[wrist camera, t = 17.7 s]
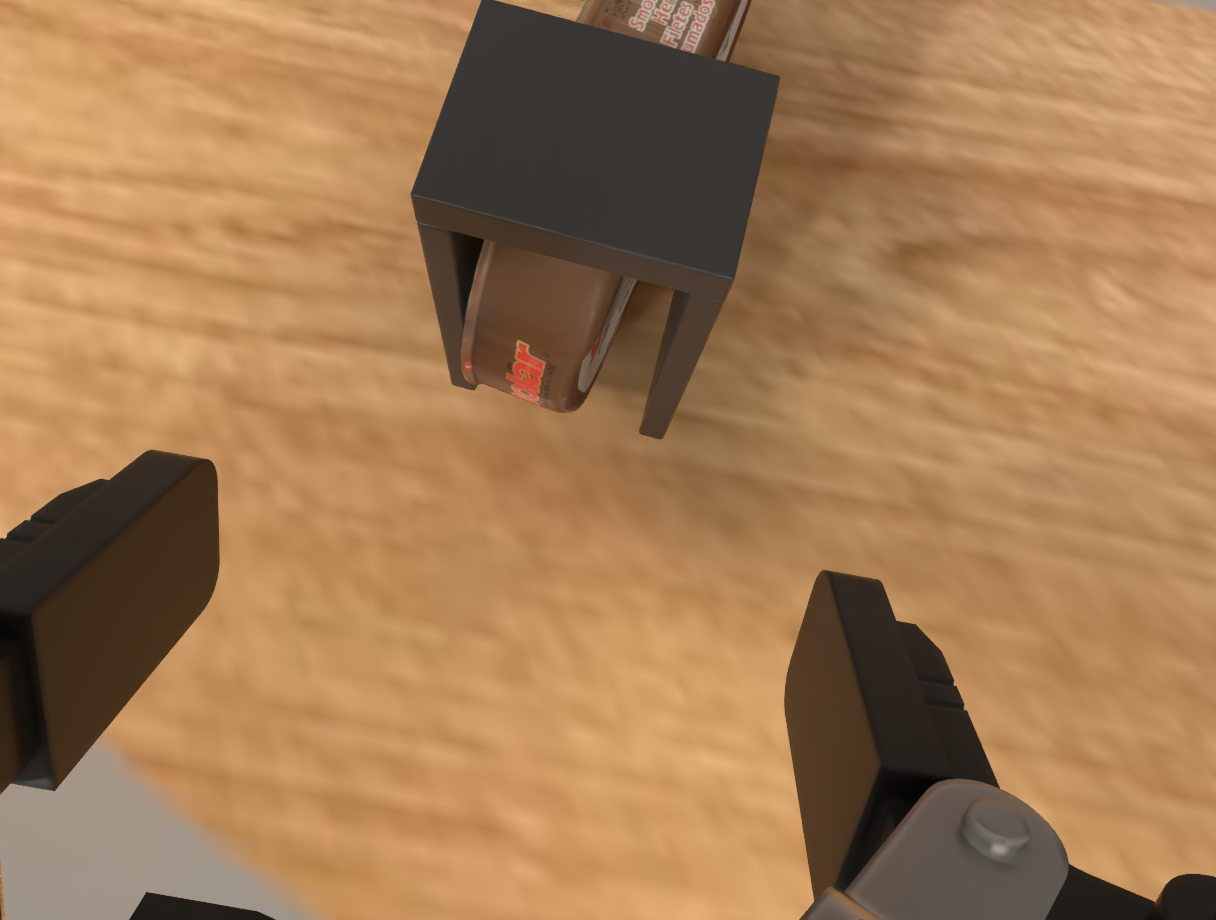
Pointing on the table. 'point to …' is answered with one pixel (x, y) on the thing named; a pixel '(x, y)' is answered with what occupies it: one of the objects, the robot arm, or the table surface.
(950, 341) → the table surface
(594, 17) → the tin
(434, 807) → the table surface
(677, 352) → the dark grey stool
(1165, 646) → the table surface
